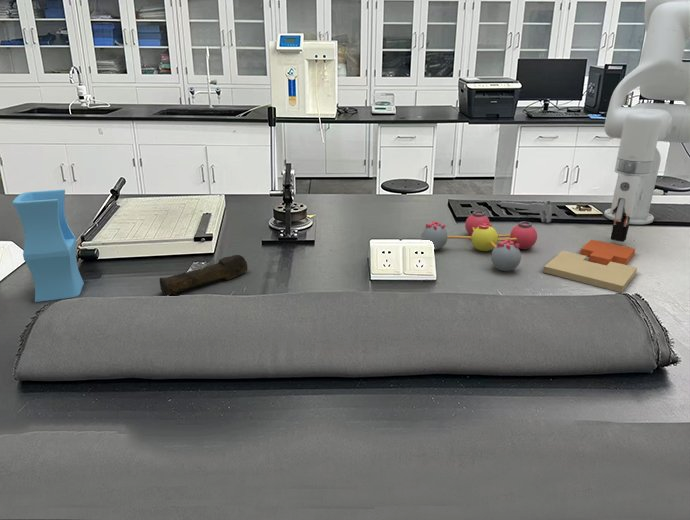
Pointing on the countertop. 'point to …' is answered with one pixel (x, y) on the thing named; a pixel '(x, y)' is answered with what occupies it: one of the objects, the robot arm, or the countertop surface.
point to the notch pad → (590, 271)
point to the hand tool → (204, 275)
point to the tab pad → (607, 252)
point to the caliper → (533, 208)
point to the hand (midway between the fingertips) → (617, 239)
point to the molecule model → (488, 239)
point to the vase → (49, 245)
